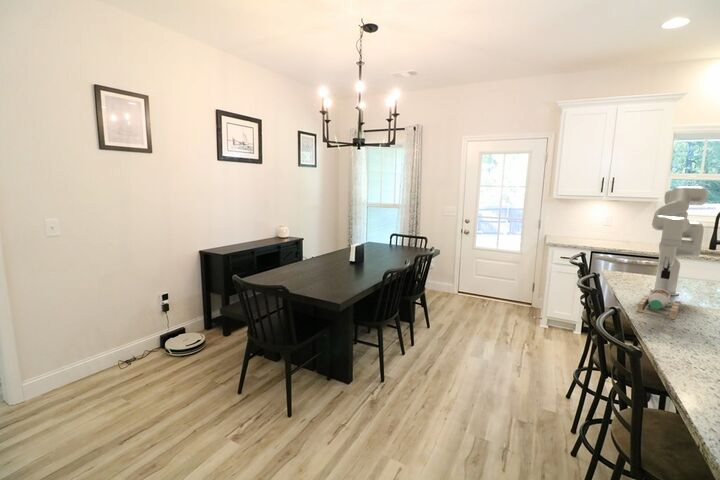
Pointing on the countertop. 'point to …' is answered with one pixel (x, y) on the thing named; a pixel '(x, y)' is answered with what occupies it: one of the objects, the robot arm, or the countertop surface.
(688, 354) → the countertop surface
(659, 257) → the robot arm
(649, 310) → the cradle
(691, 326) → the countertop surface
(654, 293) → the milk bottle
